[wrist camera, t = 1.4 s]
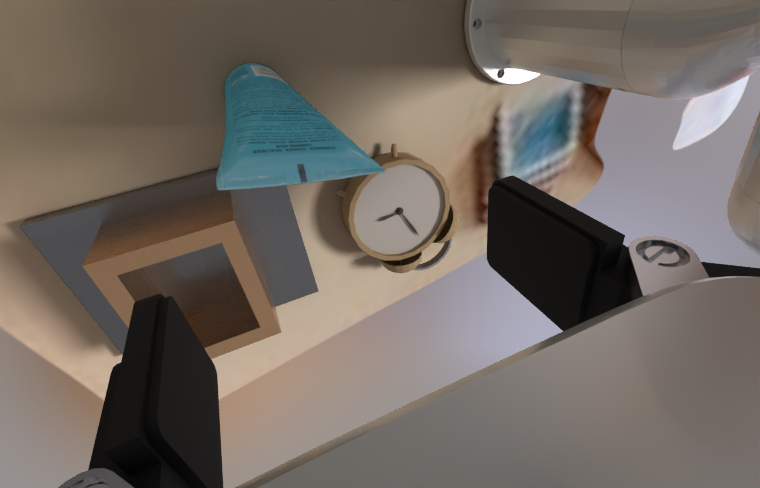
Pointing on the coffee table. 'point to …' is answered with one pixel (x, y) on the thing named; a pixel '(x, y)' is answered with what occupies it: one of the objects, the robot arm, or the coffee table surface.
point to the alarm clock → (400, 212)
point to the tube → (280, 136)
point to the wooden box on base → (182, 257)
